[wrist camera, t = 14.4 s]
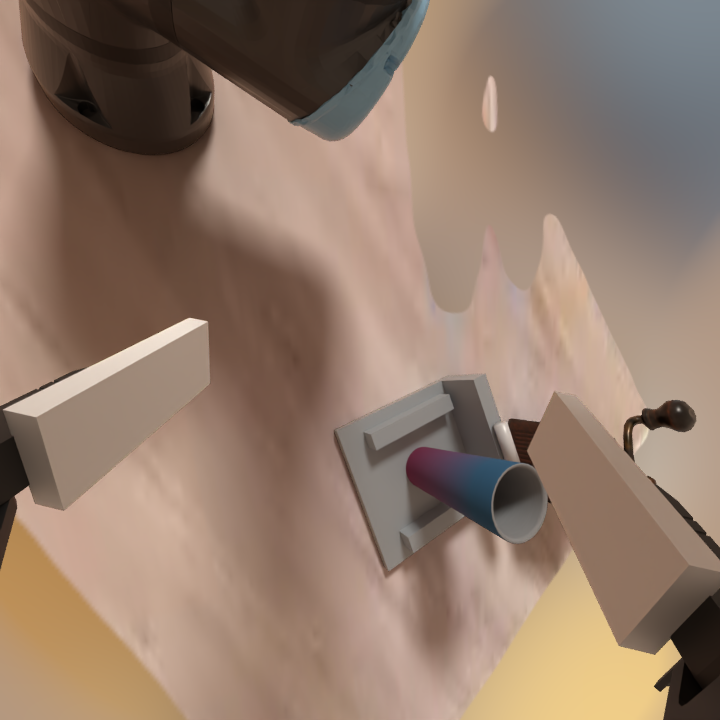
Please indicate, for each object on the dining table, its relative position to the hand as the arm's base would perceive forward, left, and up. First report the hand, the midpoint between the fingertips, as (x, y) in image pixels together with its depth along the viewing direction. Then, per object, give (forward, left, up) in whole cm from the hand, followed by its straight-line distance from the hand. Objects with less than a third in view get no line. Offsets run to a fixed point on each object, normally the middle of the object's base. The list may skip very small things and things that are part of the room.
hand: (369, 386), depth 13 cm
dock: (+17, +15, -27) cm, 35 cm away
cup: (+17, +15, -26) cm, 34 cm away
